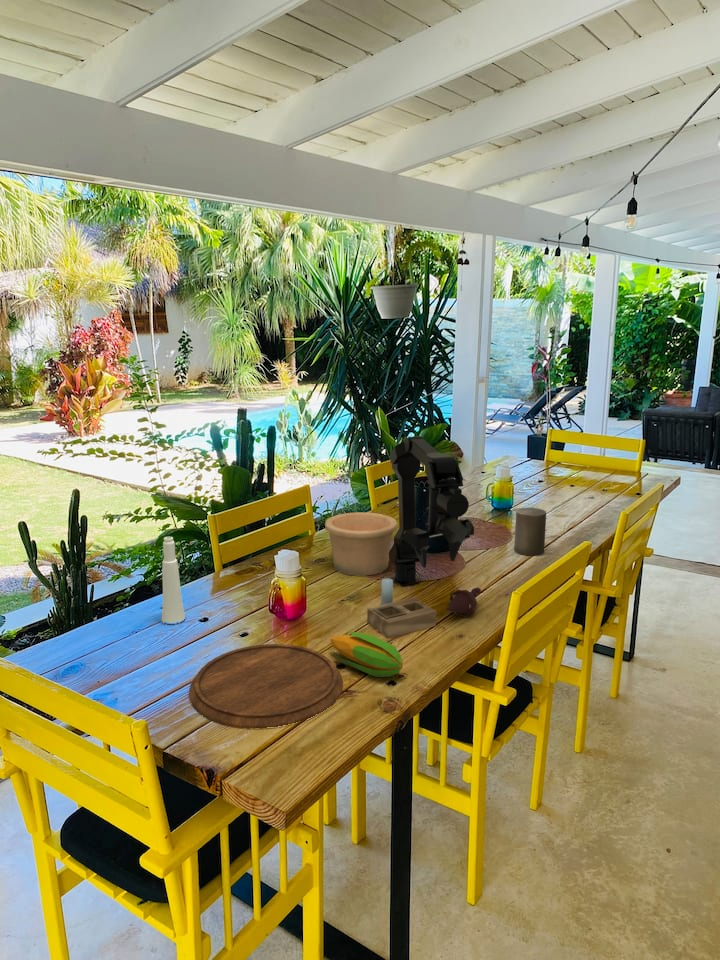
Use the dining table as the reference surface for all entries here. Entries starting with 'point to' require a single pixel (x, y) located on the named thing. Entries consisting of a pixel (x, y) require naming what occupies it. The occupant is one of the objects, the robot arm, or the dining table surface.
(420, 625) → the socket block
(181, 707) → the dining table surface
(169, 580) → the cosmetic bottle
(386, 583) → the dowel
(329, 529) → the pottery
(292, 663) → the cutting board
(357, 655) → the corn
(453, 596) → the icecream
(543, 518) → the pillar candle
